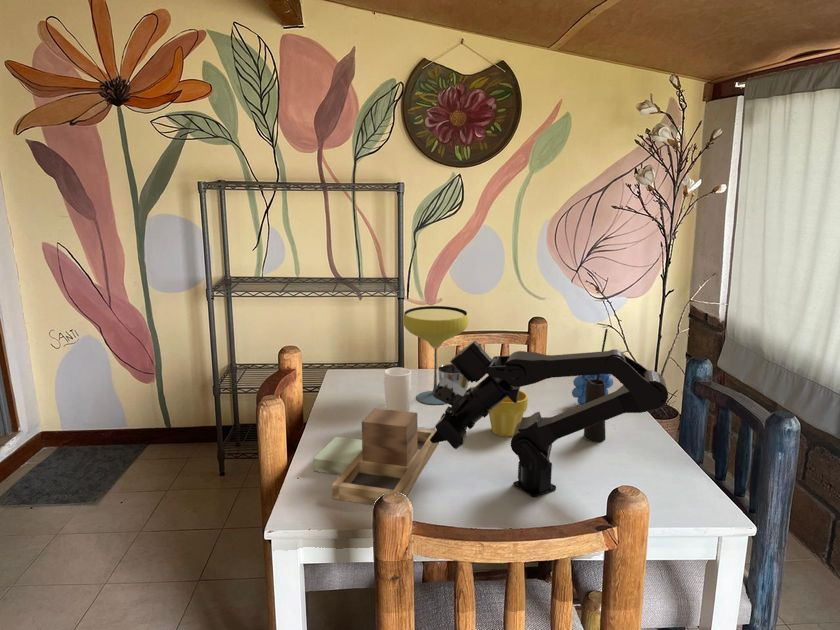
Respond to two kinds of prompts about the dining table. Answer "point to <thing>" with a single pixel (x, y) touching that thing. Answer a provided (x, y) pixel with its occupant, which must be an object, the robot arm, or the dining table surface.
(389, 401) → the drinking glass
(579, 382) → the grapes
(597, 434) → the butter churn
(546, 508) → the dining table surface
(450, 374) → the wine glass
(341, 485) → the tray
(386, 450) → the walnut block
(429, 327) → the cocktail glass
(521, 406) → the plant pot
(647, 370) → the robot arm
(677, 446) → the dining table surface
